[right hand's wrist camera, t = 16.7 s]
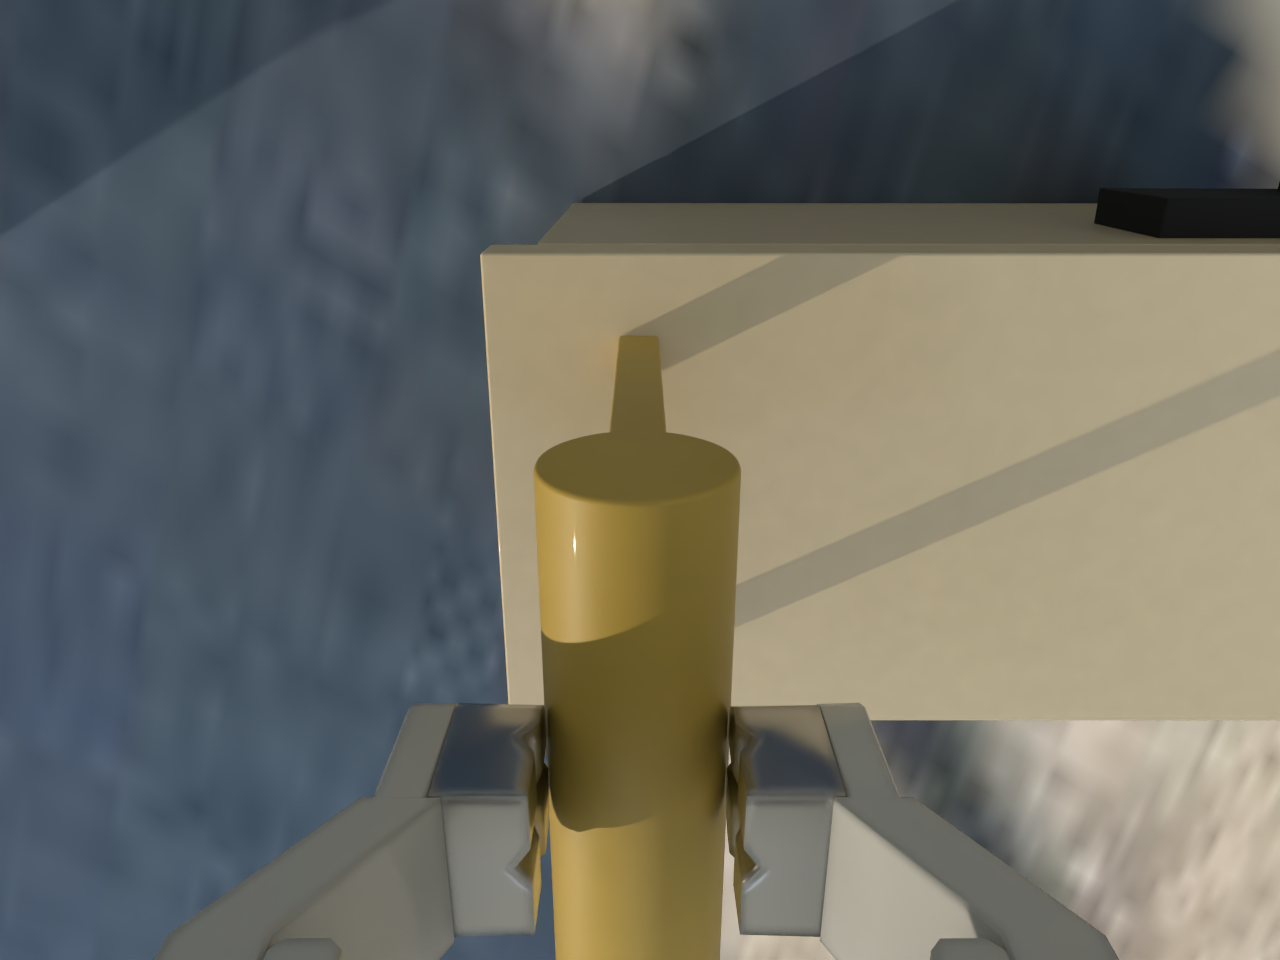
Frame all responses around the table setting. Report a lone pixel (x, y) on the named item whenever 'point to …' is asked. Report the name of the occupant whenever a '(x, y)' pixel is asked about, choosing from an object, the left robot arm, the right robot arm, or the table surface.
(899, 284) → the lid
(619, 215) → the chest
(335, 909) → the right robot arm
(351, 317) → the table surface
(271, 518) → the table surface
